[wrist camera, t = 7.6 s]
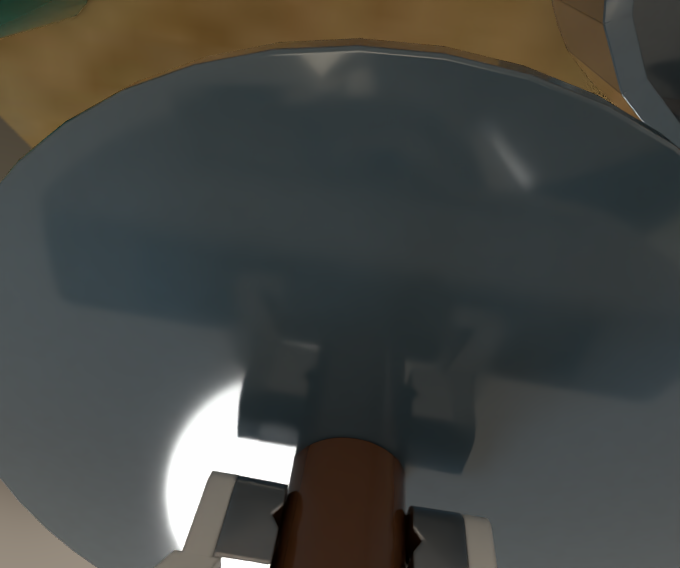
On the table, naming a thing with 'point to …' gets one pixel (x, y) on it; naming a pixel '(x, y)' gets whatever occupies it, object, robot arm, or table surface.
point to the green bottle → (35, 14)
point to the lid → (347, 309)
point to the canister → (629, 55)
